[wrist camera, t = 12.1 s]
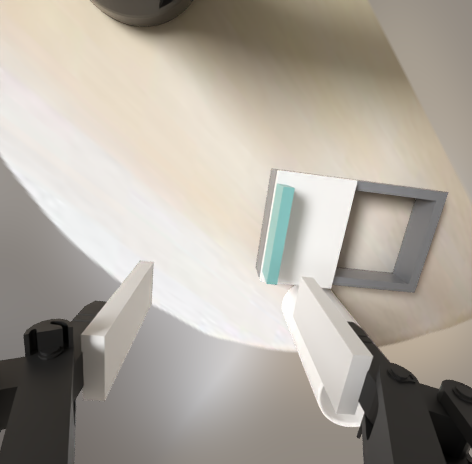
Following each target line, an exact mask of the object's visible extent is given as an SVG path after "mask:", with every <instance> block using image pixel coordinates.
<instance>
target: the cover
mask: <svg viewBox="0 0 472 464" xmlns="http://www.w3.org/2000/svg"><path fill="white" fill-rule="evenodd" d="M356 185H357V180H350V179H343V178H335V177H327V176H320V175H312V174H305V173H297V172H290V171H282V170H277V174H276V181H275V187H274V193H273V199H272V205H271V211H270V217H269V223H268V229H267V235H266V241H265V247H264V253H263V259H262V265H261V271H260V277H259V279H260V282H266V283H267V284H275V285H277V284H288V285H298V286H299V284H300V280H301V276H302V277H312V278H314V279H315V280H316V282H317V283H318V284H319V286H320V287H321V288H329V289H331V287H332V283H333V279H334V275H335V271H336V267H337V263H338V259H339V255H340V250H341V246H342V242H343V238H344V234H345V230H346V226H347V222H348V218H349V214H350V210H351V206H352V202H353V198H354V194H355V189H356Z"/></svg>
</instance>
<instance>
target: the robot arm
mask: <svg viewBox="0 0 472 464" xmlns="http://www.w3.org/2000/svg"><path fill="white" fill-rule="evenodd" d="M90 1H91V2H92V3H93V4H94V5H95V6H96V7H98V8H99V9H100V10H101V11H102V12H104V13H105V14H107V15H108V16H110V17H112V18H113V19H115V20H118V21H120V22H122V23H125V24H129V25H133V26H155V25H159V24H162V23H165V22H167V21H170V20H171V19H173V18H175V17H176V16H178V15H179V14H180V13H182V12H183V11H184V10H185V9H186V8H187V7H188V6H189V5H190V3H191V2H192V1H193V0H90ZM153 263H154V262H148V261H139V263H138V264H137V265H136V266H135V268H134V269H133V270H132V271H131V273H130V274H129V275H128V276H127V278H126V279H125V280H124V281H123V283H122V284H121V285H120V286H119V288H118V289H117V290H116V291H115V293H114V294H113V295H112V296H111V298H110V299H109V300H108V301H107V302H103V301H94V302H92V303H90V304H88V305H87V306H85V307H84V308H83V309H82V310H81V311H80V312H79V313H78V315H76V317H75V318H74V319H73V321H71V322H69V321H68V320H64V319H51V320H46V321H42V322H40V323H37V324H35V325H33V326H32V327H30V328H29V329H28V330H26V332H25V333H24V345H25V357H21V358H15V359H8V360H2V361H0V432H1V430H2V429H6V431H5V435H4V439H3V442H2V446H1V450H0V464H74V457H75V427H76V425H75V423H76V397H77V396H78V394H79V392H80V391H81V389H82V388H83V400H96V401H105V399H106V397H107V395H108V393H109V391H110V389H111V387H112V385H113V383H114V381H115V379H116V377H117V374H118V372H119V370H120V368H121V366H122V364H123V362H124V360H125V358H126V356H127V354H128V352H129V350H130V348H131V346H132V344H133V341H134V339H135V337H136V335H137V333H138V331H139V329H140V327H141V325H142V323H143V321H144V319H145V317H146V315H147V312H148V310H149V308H150V306H151V304H152V284H153ZM293 318H294V320H295V322H296V324H297V327H298V329H299V331H300V333H301V336H302V338H303V340H304V342H305V345H306V347H307V349H308V351H309V354H310V356H311V358H312V360H313V363H314V365H315V367H316V369H317V372H318V374H319V376H320V378H321V381H322V383H323V385H324V387H325V390H326V392H327V394H328V396H329V399H330V401H331V403H332V405H333V408H334V410H335V412H336V414H351V415H355V413H356V410H357V406H358V403H360V405H361V407H362V409H363V411H364V415H363V418H362V421H361V424H360V428H359V431H358V434H357V438H360V437H361V434H362V437H363V457H364V464H472V458H471V456H470V455H469V453H468V452H469V450H470V448H472V388H471V387H469V386H467V385H465V384H463V383H460V382H456V381H454V380H444V381H442V384H441V386H440V389H437V388H433V387H430V386H427V385H424V384H420V383H419V382H418V380H417V378H416V377H415V376H414V375H413V374H412V373H411V372H409V371H408V370H407V369H405V368H403V367H401V366H399V365H397V364H394V363H390V362H389V361H388V359H387V358H386V357H385V356H384V355H383V353H382V352H381V351H380V350H379V348H378V347H377V346H376V345H375V344H373V341H372V340H371V339H370V338H369V337H368V335H367V334H366V333H365V331H364V330H363V329H362V328H361V327H359V326H358V325H357V324H355V323H354V322H348V321H346V320H345V319H344V317H343V316H342V315H341V313H340V312H339V311H338V309H337V308H336V307H335V305H334V304H333V303H332V302H331V300H330V299H329V298H328V296H327V295H326V294H325V292H324V291H323V290H322V288H321V287H320V286H319V284H318V283H317V282H316V280H315V279H314V278H312V277H302V276H301V280H300V284H299V289H298V294H297V299H296V303H295V308H294V313H293Z"/></svg>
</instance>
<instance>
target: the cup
mask: <svg viewBox="0 0 472 464" xmlns="http://www.w3.org/2000/svg"><path fill="white" fill-rule="evenodd" d="M298 289H299V286H298V285H295V286H293V287H292V288H291V289H290V290H289V291H288V292H287V293H286V295H285V297H284V299H283V302H282V312H283V315H284V318H285V320H286V323H287V325H288V328H289V331H290V333H291V336H292V338H293V341H294V343H295V346H296V349H297V351H298V354H299V356H300V359H301V361H302V364H303V367H304V369H305V372H306V374H307V377H308V379H309V382H310V385H311V386H312V390H313V392H314V395H315V397H316V400H317V402H318V405H319V407H320V409H321V411H322V413H323V414H324V415H325V417H327V418H328V419H329V420H331V421H332V422H334V423H336V424H338V425H342V426H347V427H359V426H360V424H361V421H362V418H363V415H364V411H363V409H362V407H361V405H360V403H358V406H357V410H356V413H355V415H351V414H336V412H335V410H334V408H333V405H332V403H331V401H330V399H329V396H328V394H327V392H326V390H325V387H324V385H323V383H322V381H321V378H320V376H319V374H318V372H317V369H316V367H315V365H314V363H313V360H312V358H311V356H310V354H309V351H308V349H307V347H306V345H305V342H304V340H303V338H302V336H301V333H300V331H299V329H298V327H297V324H296V322H295V320H294V318H293V313H294V308H295V303H296V299H297V294H298ZM322 290H323V291H324V292H325V294H326V295H327V296H328V298H329V299H330V300H331V302H332V303H333V304H334V305H335V307H336V308H337V309H338V311H339V312H340V313H341V315H342V316H343V317H344V319H345V320H346V321H348V322H354V323H355V324H357V325H358V326H359V327H361V326H360V325H359V324H358V322H357V321H356V320H355V319H354V318H353V316H352V315H351V314H350V313H349V312H348V310H347V309H346V308H345V307H344V305H343V304H342V303H341V302H340V301H339V299H338V298H337V297H336V296H335V294H334V293H333V292H332V291H331V290H330V289H329V288H322ZM361 328H362V327H361ZM365 333H366V332H365ZM366 334H367V333H366ZM368 337H369V336H368ZM369 338H370V337H369ZM370 339H371V338H370ZM373 344H375V343H374V342H373ZM375 345H376V344H375ZM379 350H380V349H379ZM383 355H384V354H383ZM384 356H385V355H384ZM388 361H389V360H388Z"/></svg>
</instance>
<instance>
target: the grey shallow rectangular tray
mask: <svg viewBox="0 0 472 464" xmlns="http://www.w3.org/2000/svg"><path fill="white" fill-rule="evenodd" d="M277 170H278V169H271V174H270V180H269V186H268V193H267V199H266V205H265V211H264V218H263V224H262V230H261V237H260V243H259V249H258V255H257V262H256V269H257V273H258V276H259V277H260V271H261V265H262V259H263V253H264V247H265V241H266V235H267V229H268V223H269V217H270V211H271V205H272V199H273V193H274V187H275V181H276V174H277ZM282 171H286V170H282ZM290 172H293V171H290ZM297 173H301V172H297ZM305 174H308V173H305ZM312 175H316V174H312ZM320 176H323V175H320ZM327 177H331V176H327ZM335 178H338V177H335ZM343 179H346V178H343ZM350 180H353V179H350ZM355 190H357V191H364V192H372V193H380V194H388V195H395V196H403V197H411V198H416V199H415V202H414V206H413V209H412V212H411V215H410V219H409V222H408V225H407V228H406V232H405V235H404V238H403V241H402V245H401V248H400V251H399V254H398V258H397V261H396V264H395V267H394V271H393V273H387V272H377V271H368V270H358V269H348V268H339V267H336V271H335V275H334V279H333V283H332V285H341V286H352V287H362V288H372V289H382V290H392V291H403V292H413V293H414V292H415V289H416V287H417V284H418V281H419V278H420V275H421V272H422V269H423V266H424V263H425V260H426V257H427V254H428V251H429V248H430V245H431V242H432V239H433V236H434V233H435V230H436V227H437V224H438V221H439V218H440V215H441V213H442V210H443V207H444V204H445V201H446V198H447V195H448V192H442V191H435V190H429V189H421V188H414V187H406V186H399V185H391V184H384V183H376V182H369V181H361V180H357V185H356V189H355Z"/></svg>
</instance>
